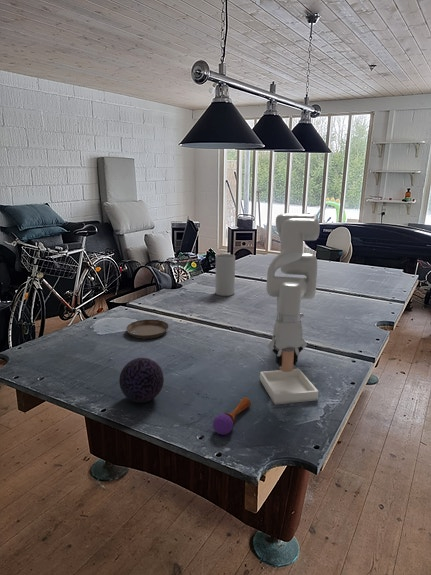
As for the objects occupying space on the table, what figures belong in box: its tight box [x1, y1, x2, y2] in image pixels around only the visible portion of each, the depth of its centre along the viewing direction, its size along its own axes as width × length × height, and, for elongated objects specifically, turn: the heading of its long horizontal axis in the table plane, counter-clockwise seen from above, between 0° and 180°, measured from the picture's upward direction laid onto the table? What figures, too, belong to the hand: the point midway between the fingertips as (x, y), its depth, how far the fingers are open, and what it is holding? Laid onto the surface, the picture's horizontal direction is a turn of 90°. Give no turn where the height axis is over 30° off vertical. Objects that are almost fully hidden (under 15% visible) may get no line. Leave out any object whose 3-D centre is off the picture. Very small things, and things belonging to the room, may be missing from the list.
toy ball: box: [118, 357, 165, 403], centre depth 142 cm, size 15×15×15 cm
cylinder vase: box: [214, 253, 236, 297], centre depth 267 cm, size 12×12×25 cm
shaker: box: [278, 348, 295, 372], centre depth 149 cm, size 5×5×9 cm
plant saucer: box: [125, 318, 170, 340], centre depth 204 cm, size 21×21×3 cm
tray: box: [259, 367, 319, 406], centre depth 150 cm, size 18×16×4 cm
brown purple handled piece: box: [212, 397, 252, 436], centre depth 131 cm, size 6×6×20 cm
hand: (286, 363), depth 150 cm, fingers closed on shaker, 5 cm apart
